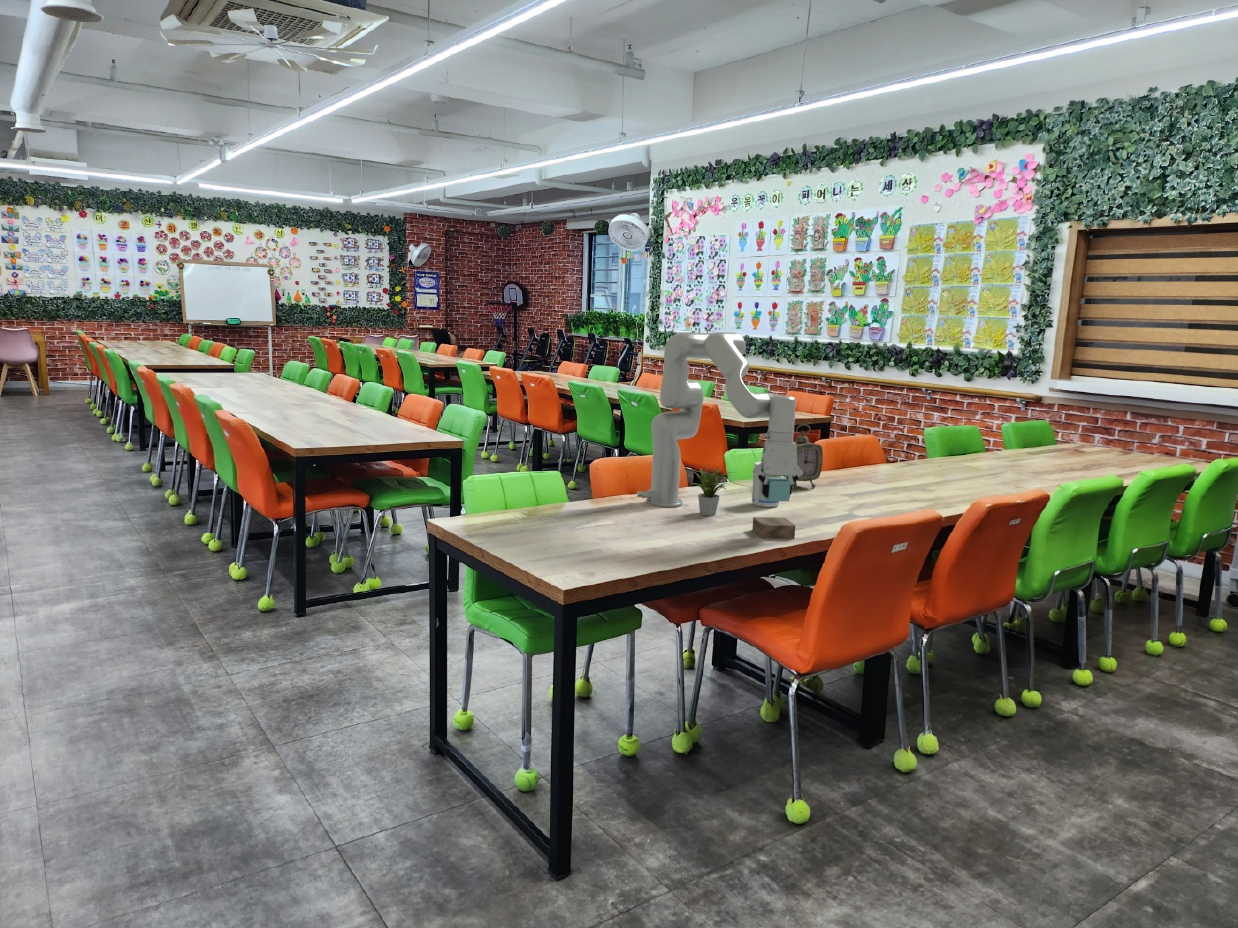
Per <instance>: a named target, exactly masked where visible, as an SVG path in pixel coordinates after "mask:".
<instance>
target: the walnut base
mask: <svg viewBox="0 0 1238 928" xmlns="http://www.w3.org/2000/svg"><path fill="white" fill-rule="evenodd" d="M751 530H752V531H753V532H754V533H755V534H756V535H757V536H759V537H760V538H761V539H765V538H794V539H795V536H796V525H795V524H794V523H793V522H791V521H790V520H788V519H787V518H786V517H777V516H776V517H774V516H773V517H770V516H768V517H765V516H764V517H763V516H760V517H758V516H755V517H752V529H751Z"/></svg>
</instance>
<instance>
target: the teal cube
mask: <svg viewBox="0 0 1238 928" xmlns="http://www.w3.org/2000/svg"><path fill="white" fill-rule="evenodd" d="M790 483H791V481H789V480H787V479H786V477H781V478H770V479H769V481H768V485H769V494H768V498H766V497H764V498H766V499H767V500H769V501H779V502H790V498H791V495H790ZM789 497H790V498H789Z"/></svg>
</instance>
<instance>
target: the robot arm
mask: <svg viewBox="0 0 1238 928" xmlns="http://www.w3.org/2000/svg"><path fill="white" fill-rule="evenodd" d="M665 343H666V344H665V345H664V346H665V347H664V353H663V355H664V356H663V360H664V363H663V372H662V379H661V384H660V393H659V400H660V405H662V407H663V408H666V409H671V410H675V409H676V410H677V409H678V410H679V411H664V412H661V413H658V414H657V415H655V416H654V417H653V418H652V420H651V424H650V428H651V429H650V430H651V437H652V463H651V464H652V465H651V481H650V483H651V485H650V488H649V489H648V490H646V491H637V492H636V496H637V498H642V499H645V503H646V504H647V505H649V506H653V507H661V508H676V507H680V506H683V502H684V501H683V499H681V498H679V492H680V490H679V489H680V476H681V475H680V473H681V459H682V458H681V457H682V456H681V449H680V445H679V443H678V440H687V439H691V438H693V437H695V436H696V435H697V433H698V431H699V429H700V423H701V416H702V410H703V403H704V391H703V388H702V386H701V385H700V383H699V382H697V381H695V380H691V379H689V375H690V367H689V364H688V363H689V362H688V361H687V359H688V360H689V359H694V360H695V359H696V360H697V359H699V360H700V359H702V360H703V359H705V360H709V359H710V360H711V362H712V363H713V364H714V366H715V367H716V368H717V370H718V371H719V373H720V374H721V375H722V376H723V377H724V379H725V385H724V386H725V393H726V397H727V399H728V400H729V402H730V404H731V405H732V406H733V407H734V409H735V410H736V411H737V413H739V415H740V416H742V417H743V418H745V419H763V418H764V419H766V418H768V428H767V430H766V431H767V432H766V433H765V432H764V433H762V435H763V438H764V439H765V438H766V440H765V441H764V445H763V450H762V453H761V460H760V462H761V463H760V464H759V465H758V466H757V467H756V468H755V469H754V468H753V470H752V474H753V473H754V474H755V475H756V476H757V477H758V479H759V480H760V481H761V482H762V494H763V496H764V497H766V498H768V494H769V485H768V481H769V479H770V477H771V476H781V477H783V476H785V477H784V478H785V479H787V480H789V481H791V483H790V497H789V499H790V498H791V496H792V491H793V490H792V485H793V484H794V483H795V481H796V480H797V479H798V478H799V477H800V476H801V475H802V474H803V471H802V470H801V469H800V467H799V466H798V465H797V447H796V443H795V442H796V441H794V436H795V423H796V409H797V408H796V407H797V401H796V398H795V397H793V396H791V395H779V394H776V393H773V392H751V391H750V390H749V389H748V388H747V386H746V385H745V383H744V381H743V378H744V377H745V376H746V375H747V373H748V371H749V369H750V364H749V362H748V361H747V359H745V357H744V354H745V352H746V349H747V347H746V346H747V344H746V341H745V339H744V338H743V336H742V335H741V334H738V333H737V332H726V331H725V332H723V331H722V332H721V331H719V332H717V331H716V332H695V331H693V332H692V331H691V332H689V331H688V332H687V331H686V332H685V331H683V332H679V333H675V334H673V335H671V336H670V337H669V338H668V339H667V341H666V342H665ZM760 470H761V472H763V473H764V475H763V476H762V475H761V474H760V473H759V471H760Z"/></svg>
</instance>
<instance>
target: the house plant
mask: <svg viewBox="0 0 1238 928" xmlns="http://www.w3.org/2000/svg"><path fill="white" fill-rule="evenodd" d="M699 471H700V474H698V473H697V472H695V471H693V473H695V474H696V476H697V478H698V479H699V480H700V482H701V483H696V482H691V483H690V485H694V486H697V487H699V488H700V489H701V490H702V491H703V493H699V494H698V495H697V496H698V497H697V498H698V506H699V514H700V515H701V514H702V516H706V517H712V516H713V517H714V516H716V514H717V511H718V506H719V501H720V499H721V498H720V494H716V493H718V491H720V490H721V489H724V490H727V489H726V488H727V486H725V484H726V482H724V483H720V482H721V480H725V479H727V477H726V476H728V475H729V474H731V473H733V472H732V471H731V472H726V473H722V475H719V472H720V471H721V468H720V469H718V466H716V467H715V469H714V471H713V472H712V474H711V471H710V467H709V465H707V470H705V471H704V470H703V469H702V468H701V467H699Z"/></svg>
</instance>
